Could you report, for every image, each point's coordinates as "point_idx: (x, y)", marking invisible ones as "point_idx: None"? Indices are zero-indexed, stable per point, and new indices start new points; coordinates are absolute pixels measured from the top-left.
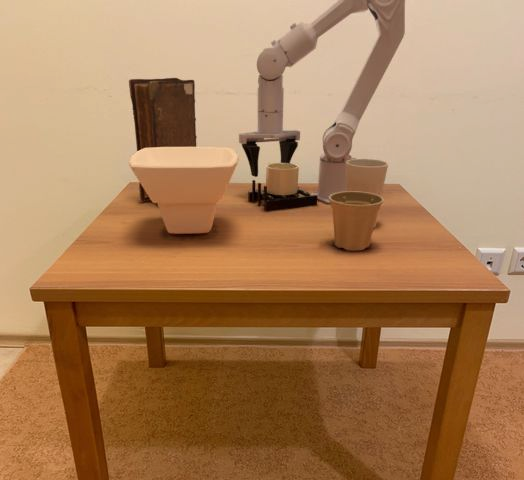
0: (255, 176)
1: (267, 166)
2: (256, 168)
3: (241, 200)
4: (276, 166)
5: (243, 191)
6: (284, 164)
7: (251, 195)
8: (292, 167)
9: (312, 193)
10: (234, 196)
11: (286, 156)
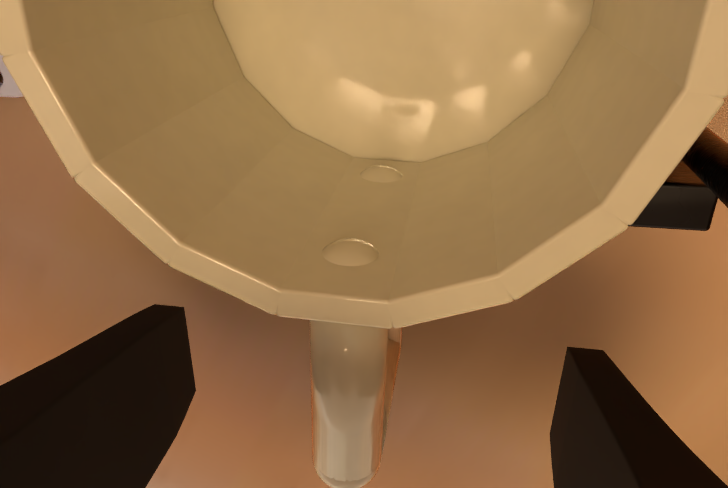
0: (602, 350)
1: (695, 94)
2: (626, 406)
3: (712, 243)
4: (337, 264)
5: (511, 458)
6: (187, 227)
7: (684, 172)
8: (88, 76)
9: (7, 90)
10: (676, 377)
11: (35, 451)
